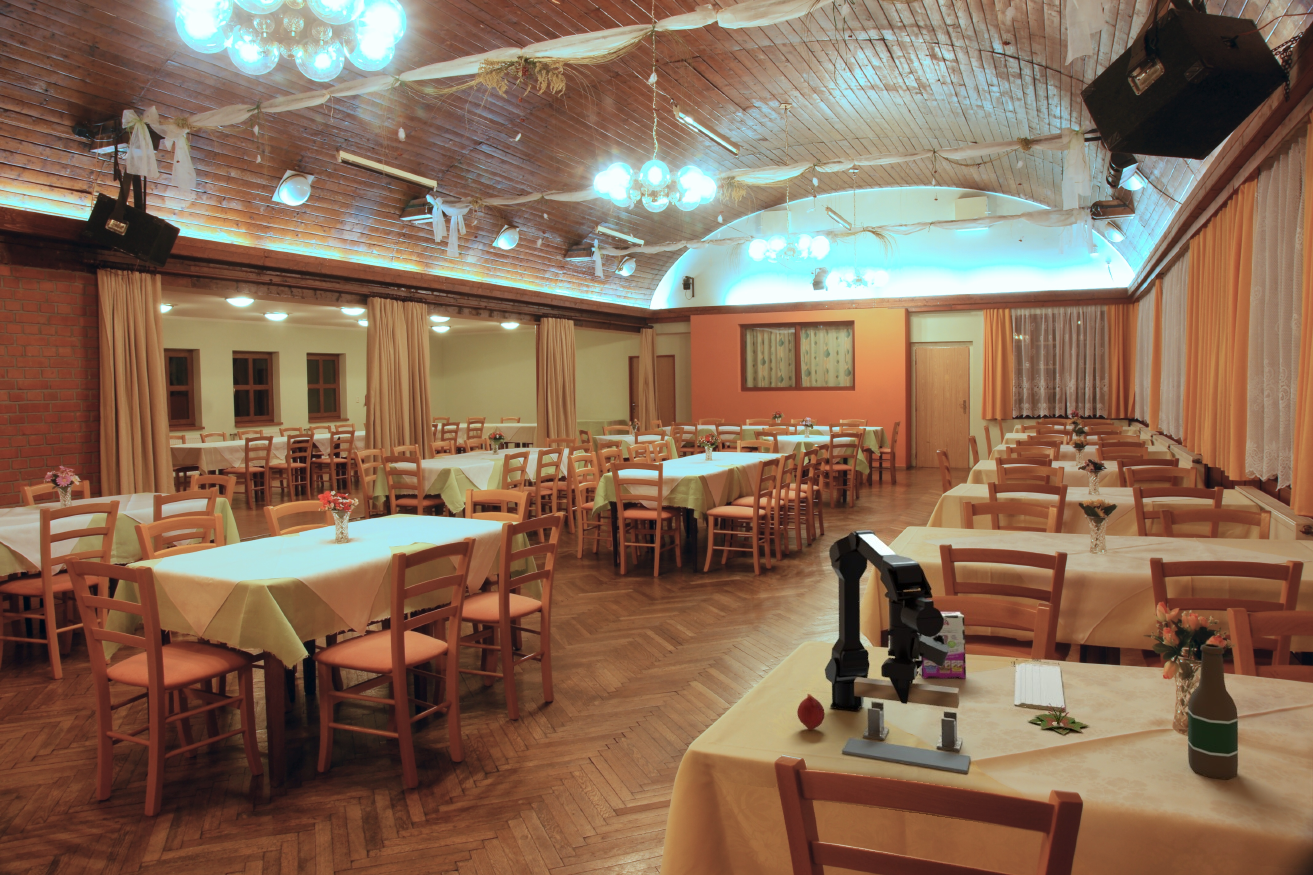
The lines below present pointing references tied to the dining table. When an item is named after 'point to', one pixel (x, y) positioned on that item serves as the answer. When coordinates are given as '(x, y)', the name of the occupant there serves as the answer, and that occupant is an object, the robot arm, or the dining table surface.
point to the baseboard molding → (1038, 686)
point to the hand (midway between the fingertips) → (905, 700)
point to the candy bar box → (956, 655)
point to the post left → (876, 722)
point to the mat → (907, 755)
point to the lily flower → (1058, 721)
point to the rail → (916, 692)
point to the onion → (810, 712)
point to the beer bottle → (1212, 720)
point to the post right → (949, 733)
